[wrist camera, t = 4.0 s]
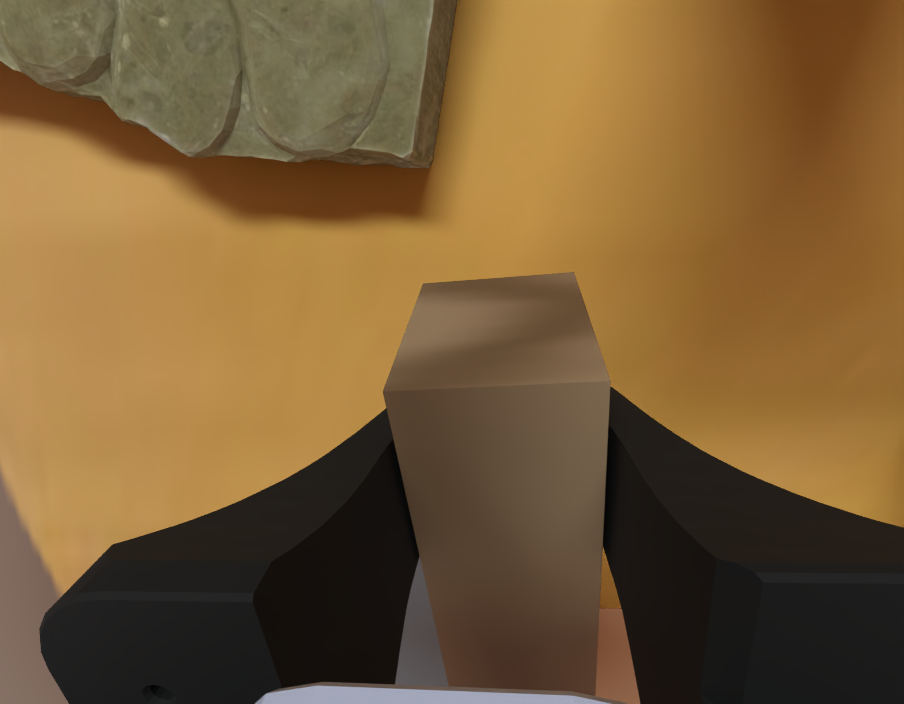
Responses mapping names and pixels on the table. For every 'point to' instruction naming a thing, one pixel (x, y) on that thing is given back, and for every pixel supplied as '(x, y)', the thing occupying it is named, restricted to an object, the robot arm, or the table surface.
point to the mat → (420, 640)
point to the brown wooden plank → (506, 476)
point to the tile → (614, 659)
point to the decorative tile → (249, 71)
